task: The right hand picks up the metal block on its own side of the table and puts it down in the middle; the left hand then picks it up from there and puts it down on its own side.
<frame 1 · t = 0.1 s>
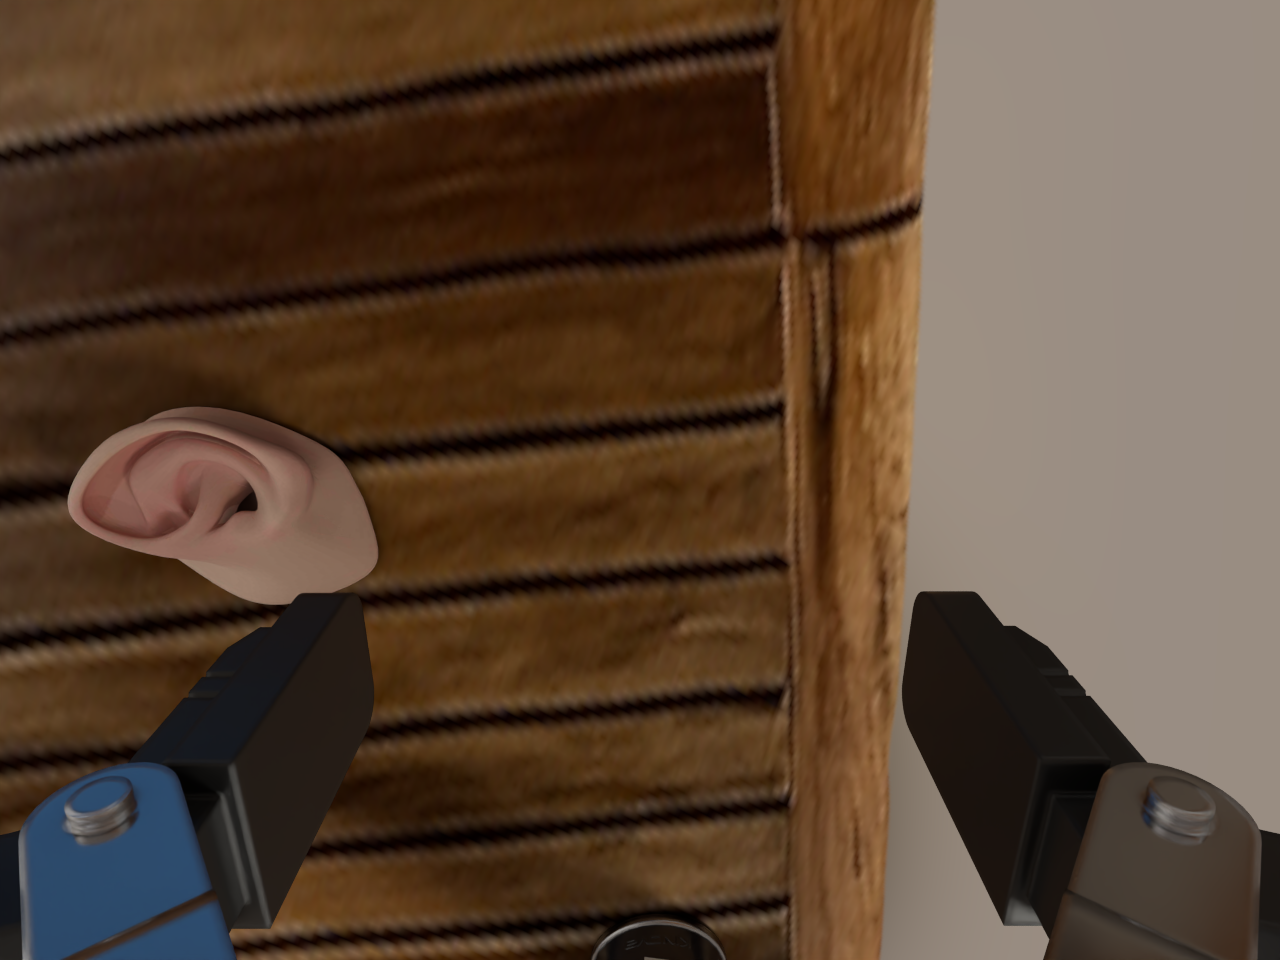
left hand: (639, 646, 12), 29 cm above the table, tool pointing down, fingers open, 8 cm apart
anatomical model: (253, 504, 42), on the table
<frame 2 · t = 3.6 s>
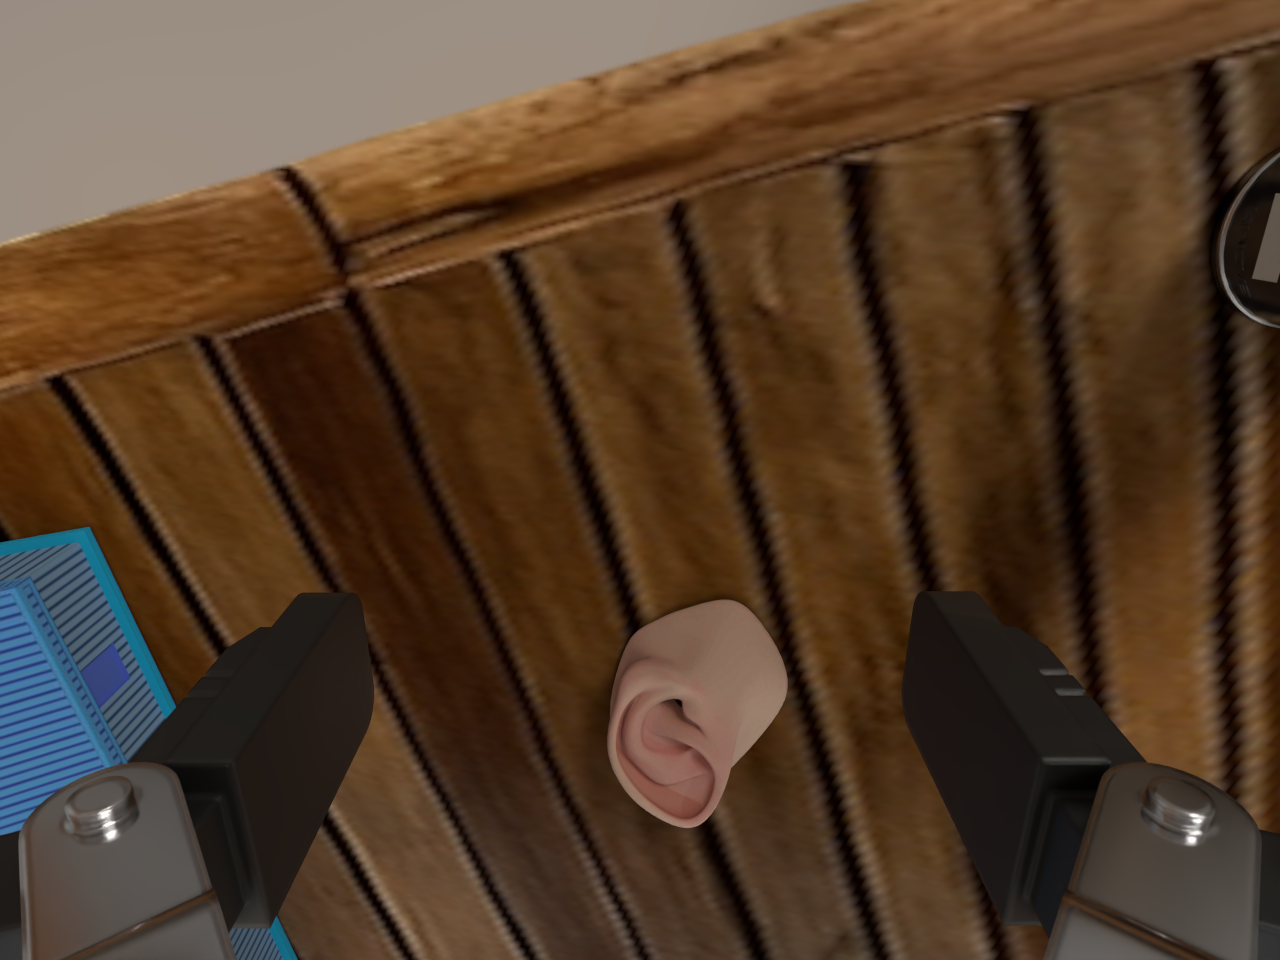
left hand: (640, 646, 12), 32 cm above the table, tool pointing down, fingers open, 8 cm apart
anatomical model: (693, 692, 50), on the table
model building: (52, 814, 53), on the table
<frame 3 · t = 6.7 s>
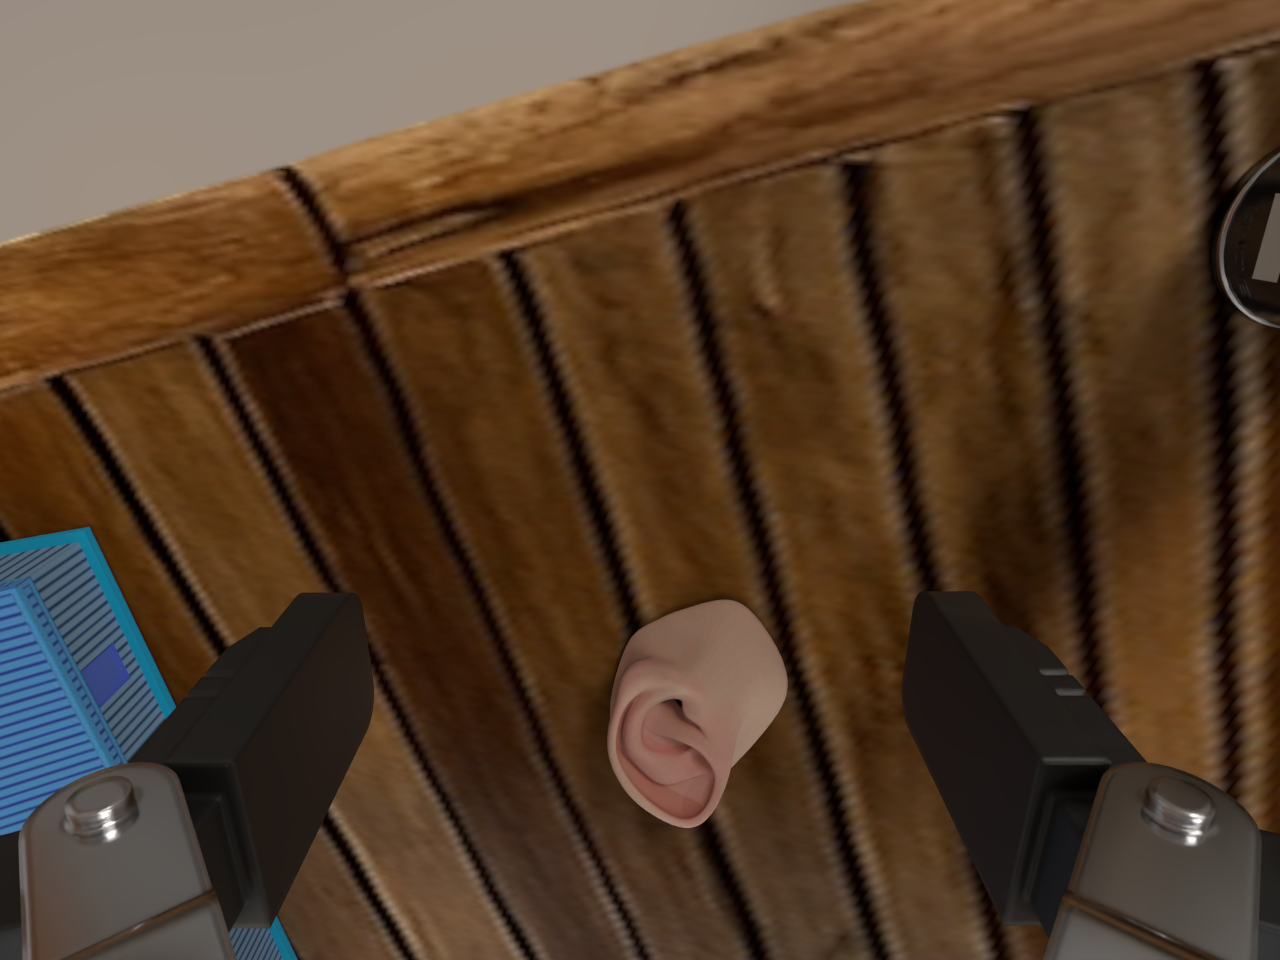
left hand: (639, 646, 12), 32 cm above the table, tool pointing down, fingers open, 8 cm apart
anatomical model: (693, 692, 50), on the table
model building: (52, 814, 53), on the table
when the right hand's fingers open (3 cm above the table, at t = 9.8 s): block drops 2 cm, on the table.
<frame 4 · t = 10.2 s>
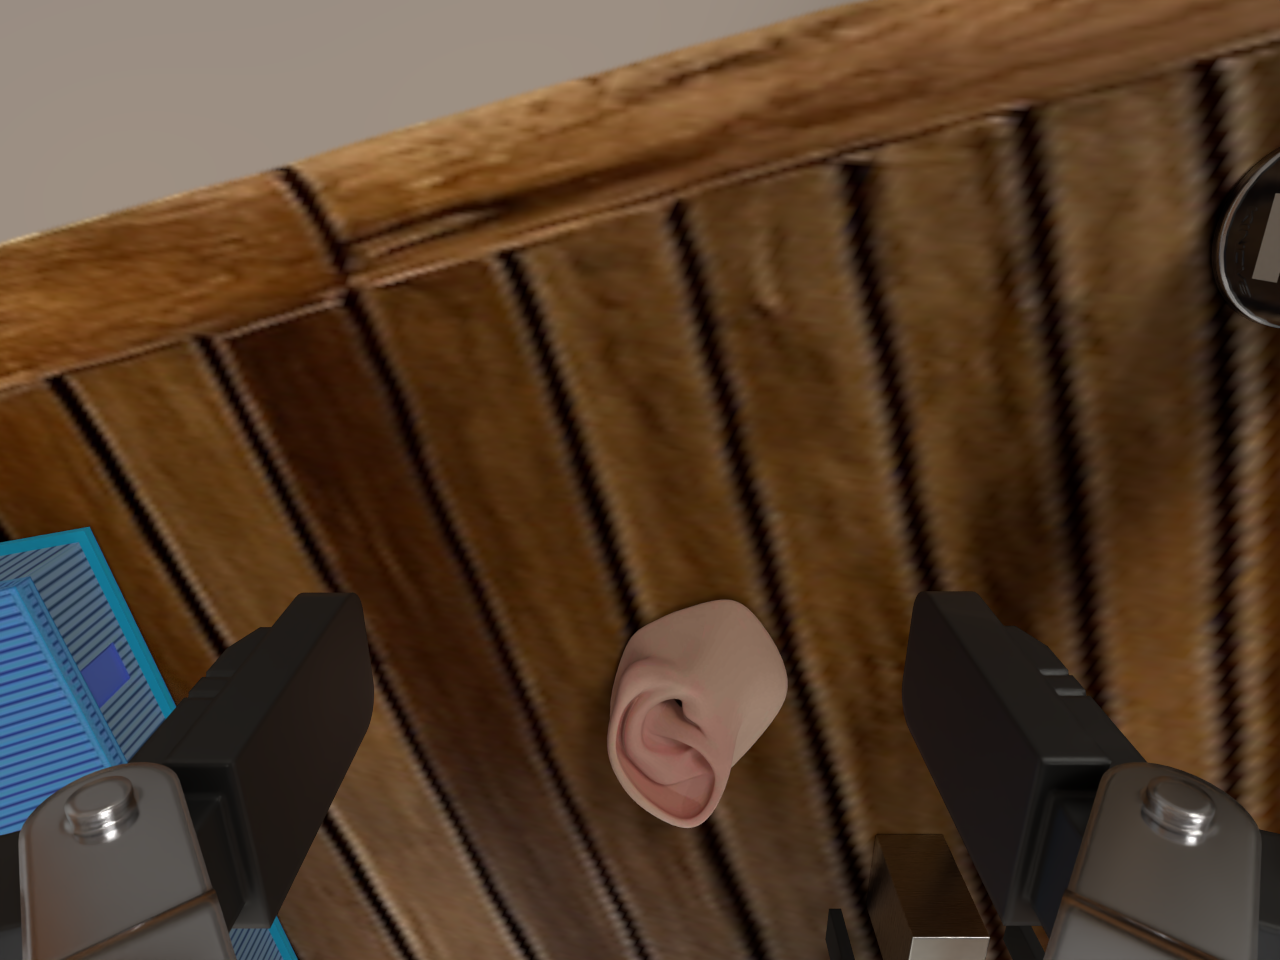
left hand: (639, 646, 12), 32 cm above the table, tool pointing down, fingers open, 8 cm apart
anatomical model: (693, 692, 50), on the table
block: (903, 869, 55), on the table
model building: (52, 814, 53), on the table
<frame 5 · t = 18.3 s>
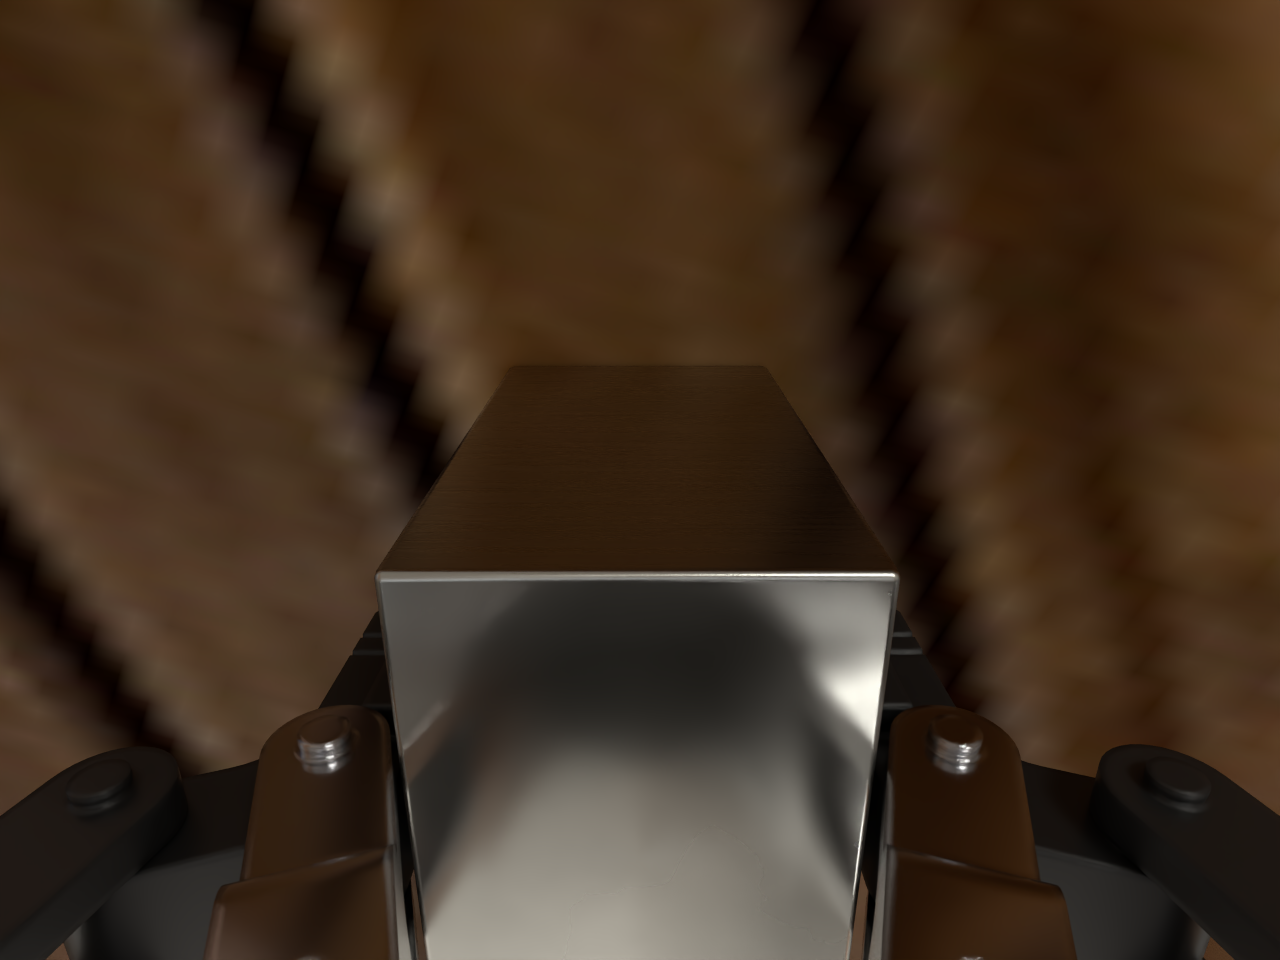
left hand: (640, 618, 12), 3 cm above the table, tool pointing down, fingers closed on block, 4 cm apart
block: (638, 529, 15), on the table, touching left hand
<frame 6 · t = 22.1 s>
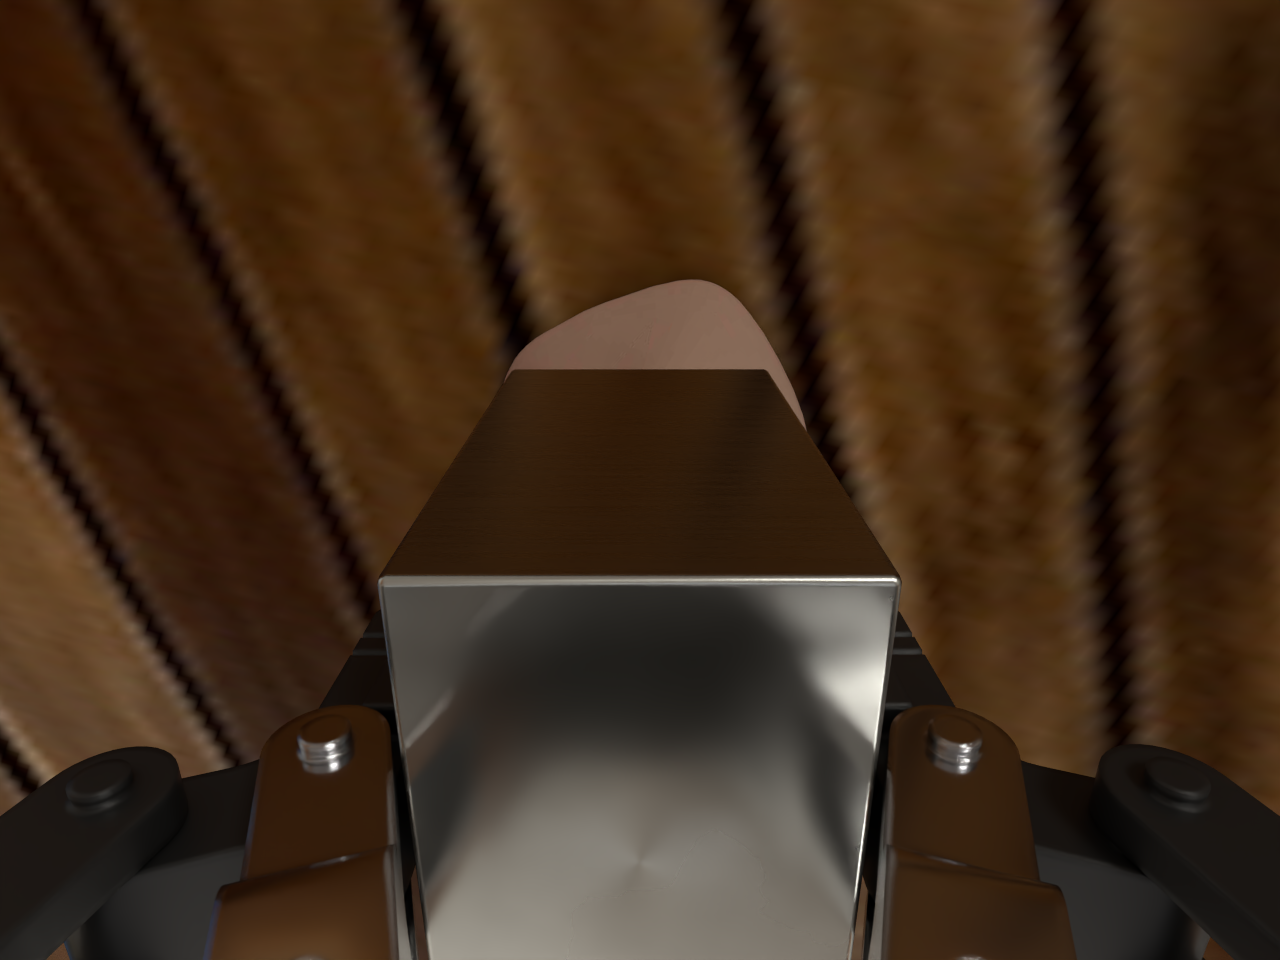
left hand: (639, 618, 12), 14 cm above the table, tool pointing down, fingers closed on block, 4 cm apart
anatomical model: (634, 484, 27), on the table
block: (639, 532, 15), point 11 cm above the table, touching left hand
when the left hand's fingers open (5 cm above the table, at t = 26.1 s): block drops 2 cm, on the table.
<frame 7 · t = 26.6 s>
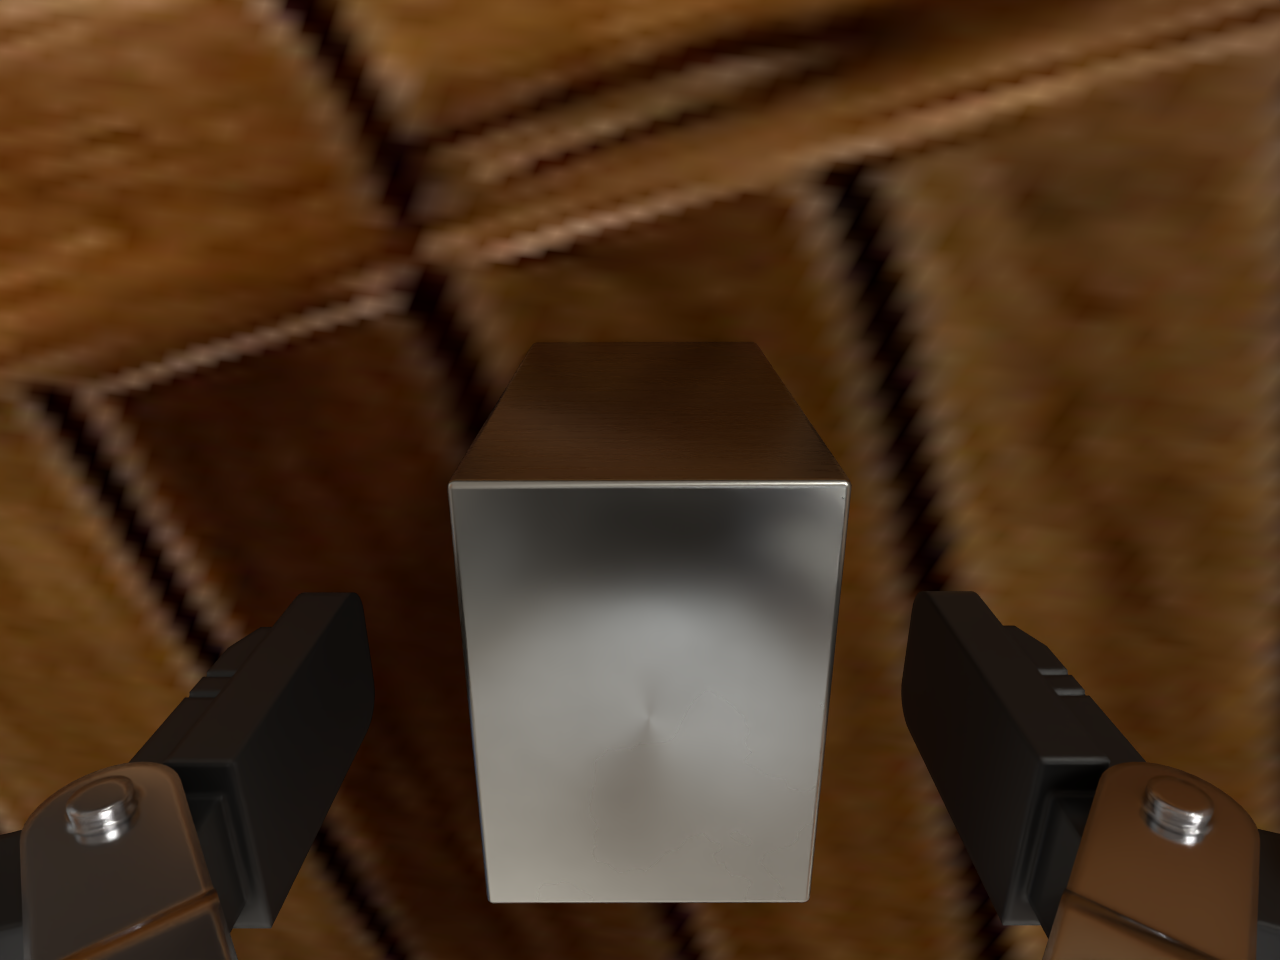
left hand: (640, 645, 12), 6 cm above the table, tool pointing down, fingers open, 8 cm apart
block: (644, 488, 17), on the table
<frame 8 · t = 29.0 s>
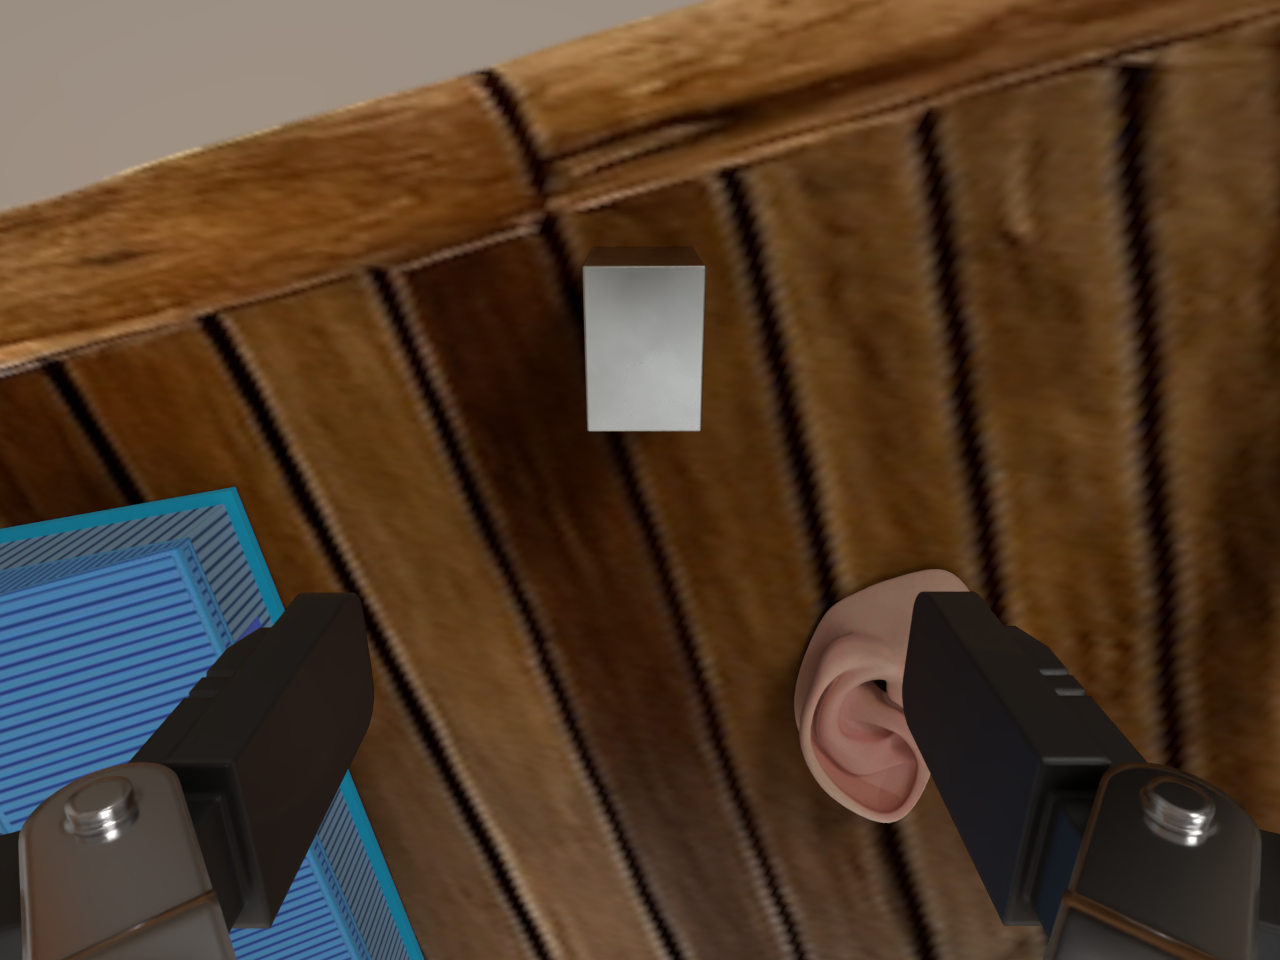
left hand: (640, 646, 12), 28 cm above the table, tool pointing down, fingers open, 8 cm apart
anatomical model: (887, 673, 45), on the table
block: (643, 317, 38), on the table
model building: (171, 809, 49), on the table
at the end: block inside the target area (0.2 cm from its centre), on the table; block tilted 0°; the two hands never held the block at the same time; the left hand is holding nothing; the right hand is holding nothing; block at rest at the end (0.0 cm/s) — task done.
